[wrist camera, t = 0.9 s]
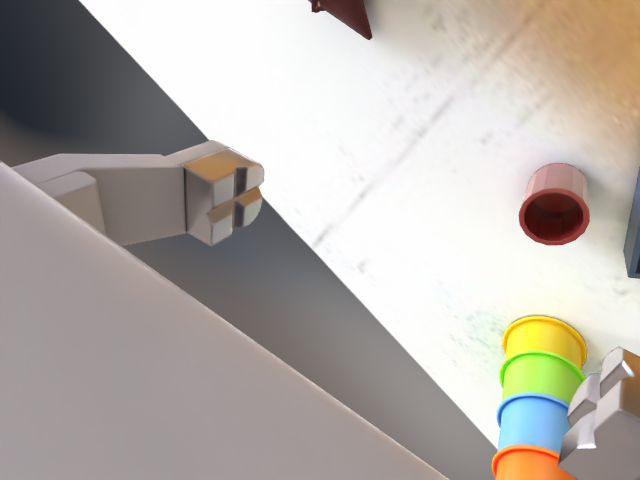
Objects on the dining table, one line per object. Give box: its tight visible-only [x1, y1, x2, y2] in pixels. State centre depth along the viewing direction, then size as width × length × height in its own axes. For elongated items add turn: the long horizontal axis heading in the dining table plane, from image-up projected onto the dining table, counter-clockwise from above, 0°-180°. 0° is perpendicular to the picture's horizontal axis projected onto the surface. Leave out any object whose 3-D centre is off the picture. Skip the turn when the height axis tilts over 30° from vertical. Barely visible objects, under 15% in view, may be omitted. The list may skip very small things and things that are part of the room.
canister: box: [519, 163, 589, 245], centre depth 46 cm, size 6×6×9 cm
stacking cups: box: [492, 316, 587, 480], centre depth 45 cm, size 10×10×35 cm
